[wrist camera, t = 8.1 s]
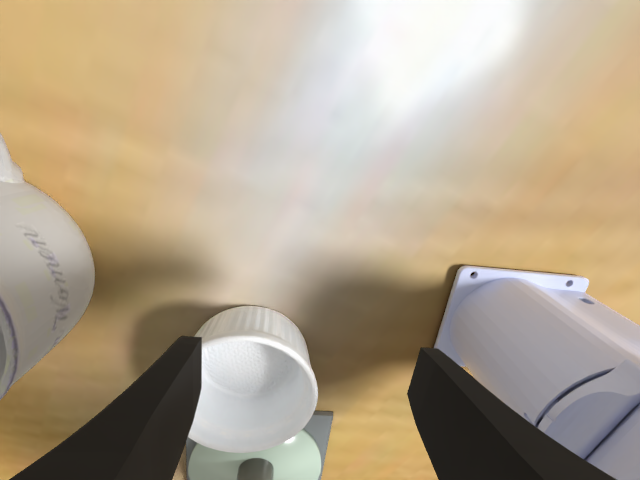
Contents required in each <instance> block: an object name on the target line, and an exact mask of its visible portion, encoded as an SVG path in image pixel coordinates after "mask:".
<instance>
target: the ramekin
mask: <svg viewBox="0 0 640 480" xmlns="http://www.w3.org/2000/svg"><path fill="white" fill-rule="evenodd" d="M194 337H202V388H201V392H200V397H199V401H198V405H197V409H196V413H195V417H194V420H193V424H192V426H191V429H190V432H189V435H188V437H189V438H190V439H192V440H193V441H195V442H197V443H199V444H201V445H203V446H205V447H208V448H212V449H215V450H219V451H224V452H231V453H251V452H257V451H262V450H266V449H269V448H272V447H275V446H278V445H280V444H282V443H284V442H286V441H287V440H289V439H291V438H292V437H294V436H295V435H296V434H297V433H299V432H300V431H301V430H302V429H303V428H304V427H305V426H306V424H307V423H308V422H309V420H310V419H311V417H312V415H313V413H314V411H315V409H316V405H317V400H318V386H317V381H316V378H315V375H314V372H313V370H312V368H311V364H310V359H309V353H308V349H307V345H306V342H305V339H304V337H303V335H302V333H301V332H300V330H299V329H298V327H297V326H296V325H295V324H294V323H293V322H292V321H291V320H290V319H288V318H287V317H286V316H284V315H283V314H281V313H279V312H277V311H275V310H272V309H269V308H265V307H259V306H241V307H235V308H231V309H228V310H225V311H223V312H221V313H218V314H217V315H215V316H213V317H212V318H210V319H209V320H208V321H207V322H206V323H204V324H203V325H202V327H201V328H200V329H199V330H198V332H197V333H196V335H195V336H194Z"/></svg>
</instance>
